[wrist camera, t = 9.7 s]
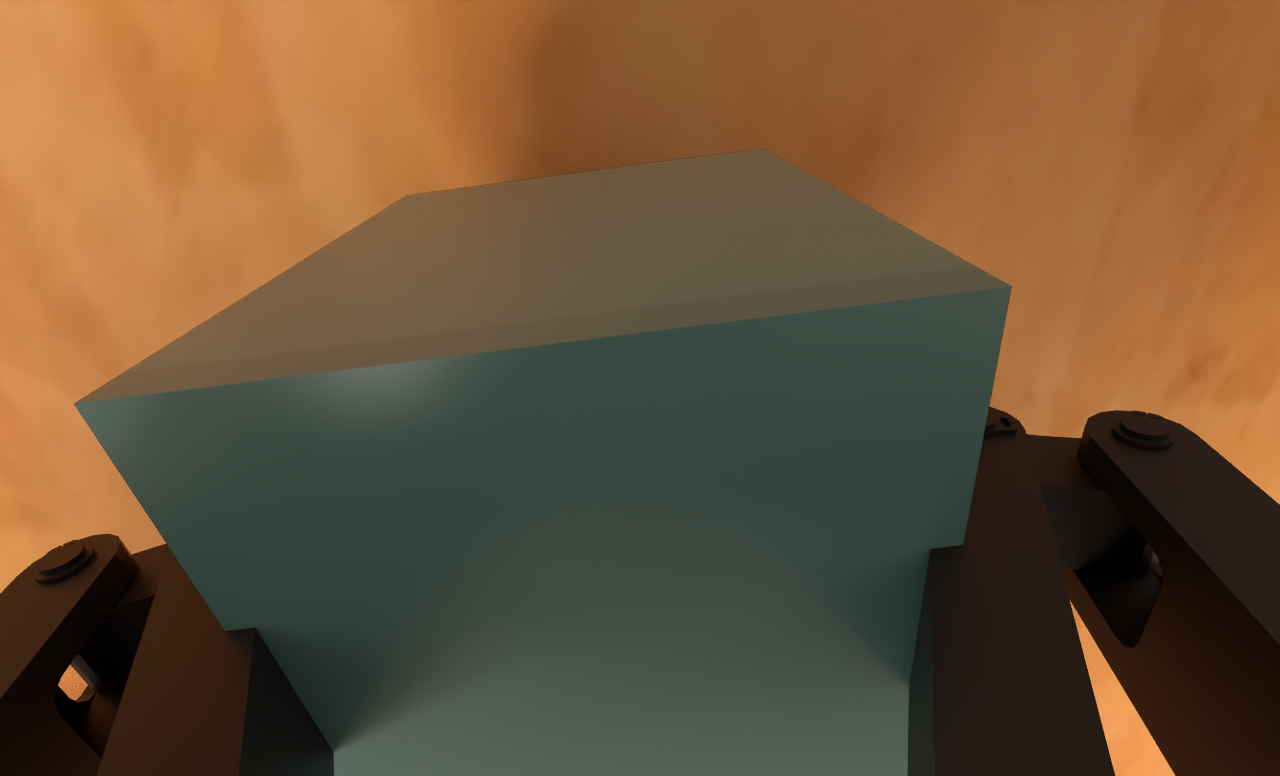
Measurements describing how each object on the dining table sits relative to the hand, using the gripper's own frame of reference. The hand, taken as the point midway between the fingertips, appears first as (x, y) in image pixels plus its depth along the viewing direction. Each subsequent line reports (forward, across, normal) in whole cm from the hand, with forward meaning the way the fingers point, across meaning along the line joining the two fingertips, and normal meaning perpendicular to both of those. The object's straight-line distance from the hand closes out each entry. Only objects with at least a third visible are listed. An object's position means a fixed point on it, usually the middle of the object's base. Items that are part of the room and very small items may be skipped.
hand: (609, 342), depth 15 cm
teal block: (0, 0, 0) cm, 0 cm away
